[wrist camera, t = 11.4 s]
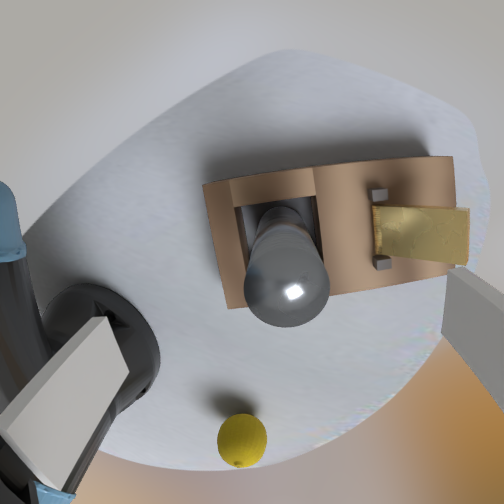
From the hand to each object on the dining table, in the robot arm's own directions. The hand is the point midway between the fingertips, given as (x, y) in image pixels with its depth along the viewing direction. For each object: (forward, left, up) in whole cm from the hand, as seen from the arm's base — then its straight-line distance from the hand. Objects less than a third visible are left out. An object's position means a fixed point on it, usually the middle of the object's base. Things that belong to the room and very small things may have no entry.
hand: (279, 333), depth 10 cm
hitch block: (+5, 0, -17) cm, 17 cm away
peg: (0, 0, -17) cm, 17 cm away
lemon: (-7, -22, -17) cm, 29 cm away
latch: (+10, 0, -10) cm, 15 cm away
